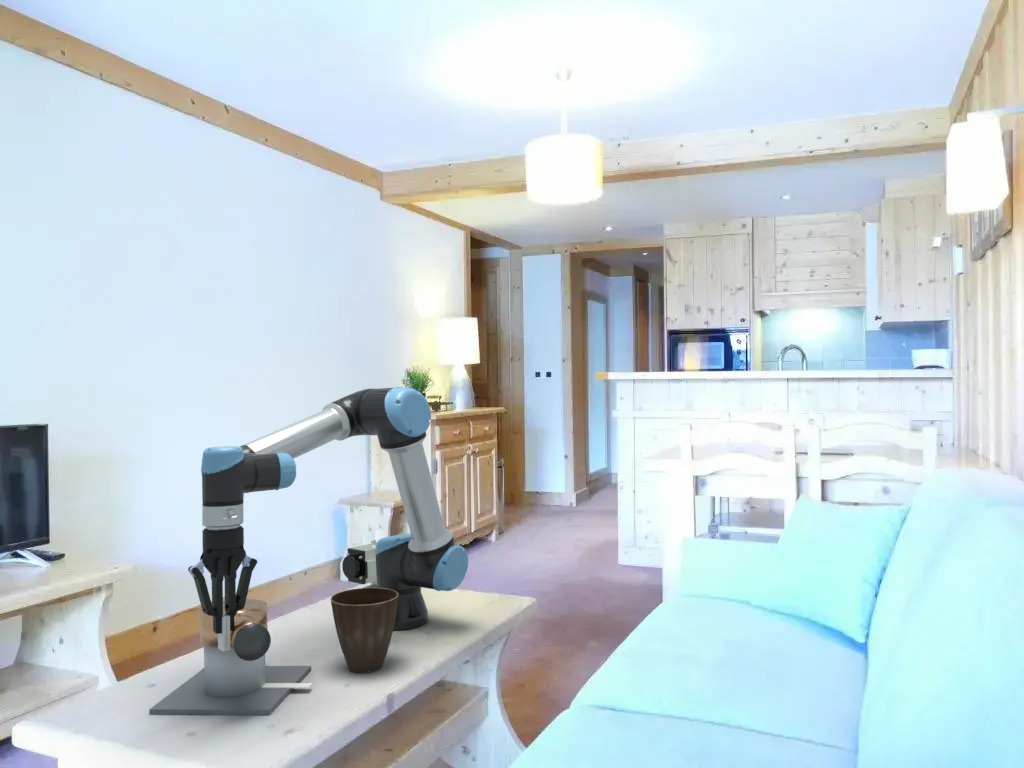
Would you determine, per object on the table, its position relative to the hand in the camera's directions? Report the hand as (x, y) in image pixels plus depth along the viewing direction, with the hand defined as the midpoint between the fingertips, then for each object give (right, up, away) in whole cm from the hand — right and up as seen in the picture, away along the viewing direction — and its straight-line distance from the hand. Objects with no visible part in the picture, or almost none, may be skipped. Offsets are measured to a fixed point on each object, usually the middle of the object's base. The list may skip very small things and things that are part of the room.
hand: (224, 649), depth 151 cm
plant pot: (+23, -12, +24) cm, 36 cm away
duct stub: (0, -13, +12) cm, 17 cm away
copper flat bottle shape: (0, -2, +8) cm, 8 cm away
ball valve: (+15, -13, +81) cm, 83 cm away
